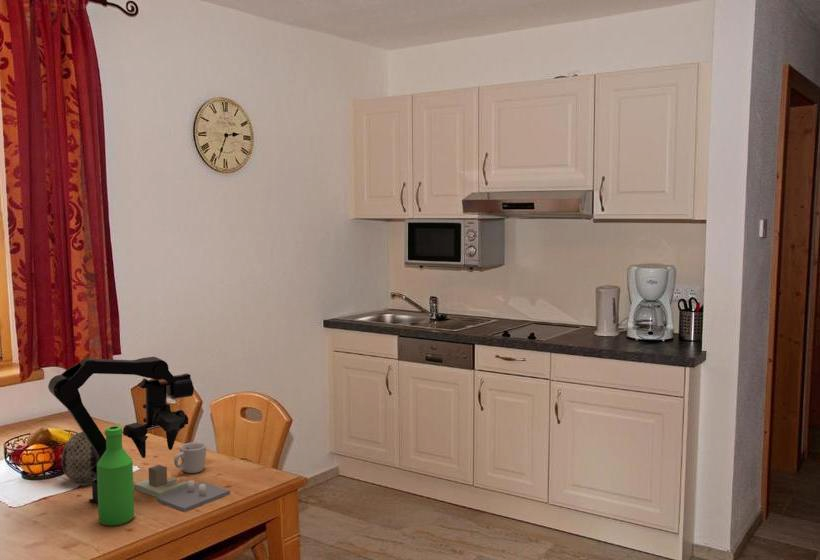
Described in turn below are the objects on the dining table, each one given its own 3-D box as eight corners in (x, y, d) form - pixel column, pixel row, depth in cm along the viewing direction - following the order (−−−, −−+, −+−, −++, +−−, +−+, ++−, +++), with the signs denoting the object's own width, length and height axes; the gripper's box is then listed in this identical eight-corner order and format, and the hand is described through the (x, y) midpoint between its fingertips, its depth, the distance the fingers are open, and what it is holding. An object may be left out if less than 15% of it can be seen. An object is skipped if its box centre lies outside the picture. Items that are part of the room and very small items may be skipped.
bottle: (112, 530, 194) (109, 434, 192) (91, 522, 199) (88, 429, 196) (141, 518, 202) (138, 426, 199) (120, 511, 206) (117, 421, 204)
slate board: (184, 511, 206) (184, 497, 206) (156, 501, 213) (156, 487, 212) (230, 493, 219) (229, 480, 219) (202, 484, 226) (202, 471, 225)
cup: (183, 479, 230) (182, 454, 229) (167, 474, 235) (166, 448, 234) (212, 469, 239) (211, 445, 238) (196, 464, 243) (195, 440, 243)
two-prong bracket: (159, 498, 215) (158, 475, 215) (133, 489, 222) (133, 467, 222) (188, 487, 223) (187, 466, 223) (162, 479, 230) (162, 458, 230)
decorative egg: (54, 482, 227) (52, 433, 225) (91, 471, 236) (89, 424, 235) (75, 491, 220) (73, 441, 218) (112, 480, 229) (111, 431, 228)
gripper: (146, 412, 207) (147, 468, 209) (200, 399, 223) (201, 450, 224) (121, 406, 214) (122, 460, 215) (175, 393, 229) (176, 443, 230)
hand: (157, 453), depth 221 cm, fingers open, 9 cm apart
